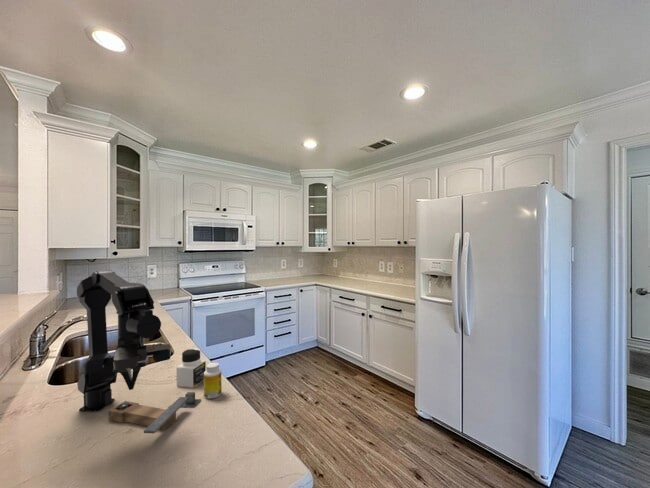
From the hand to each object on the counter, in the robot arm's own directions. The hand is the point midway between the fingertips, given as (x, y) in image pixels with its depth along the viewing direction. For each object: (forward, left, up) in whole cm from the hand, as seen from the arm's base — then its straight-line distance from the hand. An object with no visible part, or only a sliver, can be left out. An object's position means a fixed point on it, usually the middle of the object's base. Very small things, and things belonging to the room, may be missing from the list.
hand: (131, 389), depth 76 cm
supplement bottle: (+13, +20, -12) cm, 27 cm away
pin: (-8, +7, -12) cm, 16 cm away
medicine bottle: (+1, +28, -12) cm, 30 cm away
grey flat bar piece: (+8, +6, -12) cm, 16 cm away
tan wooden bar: (-1, +5, -11) cm, 13 cm away
